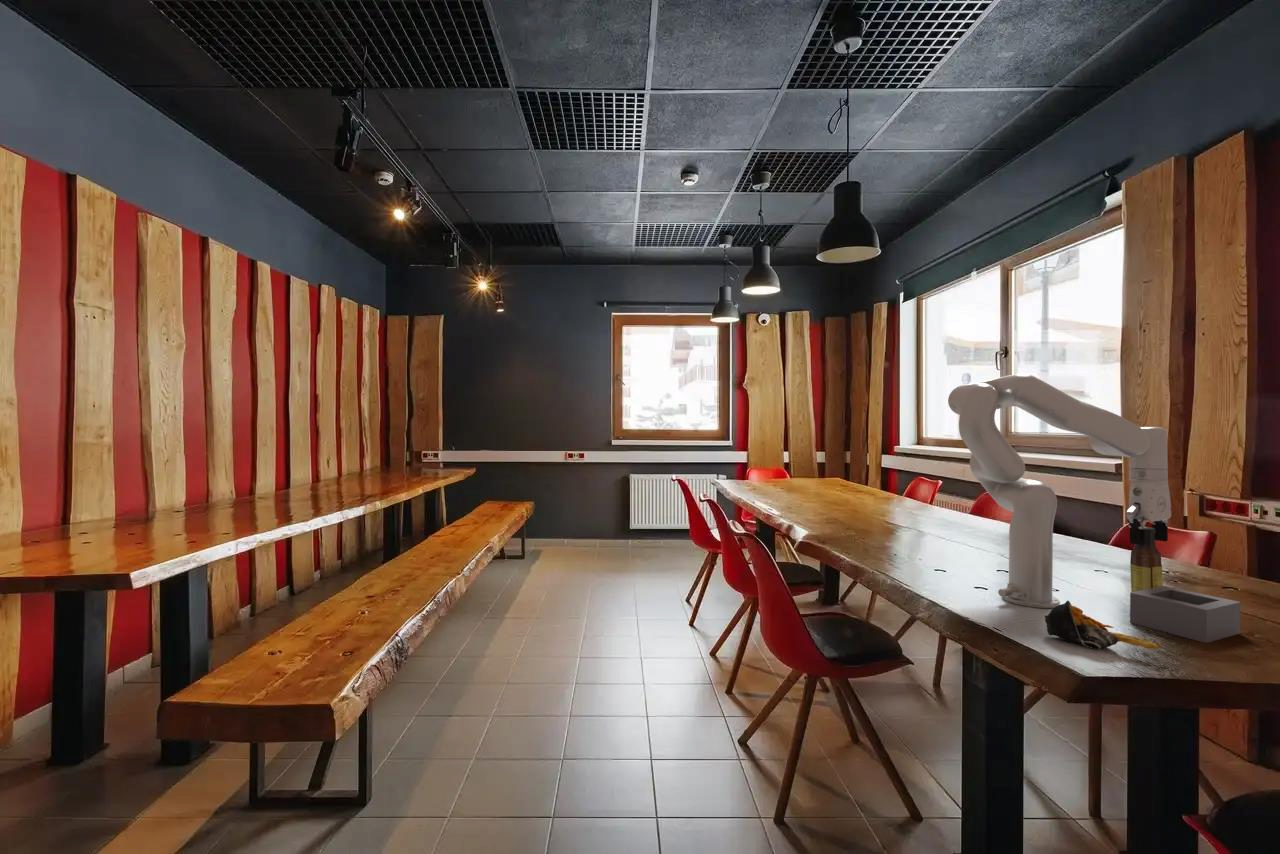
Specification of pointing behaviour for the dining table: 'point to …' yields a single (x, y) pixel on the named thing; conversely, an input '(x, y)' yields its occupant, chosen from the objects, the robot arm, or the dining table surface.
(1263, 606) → the dining table surface
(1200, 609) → the box
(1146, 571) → the sauce bottle
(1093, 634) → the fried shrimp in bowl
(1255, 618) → the dining table surface
